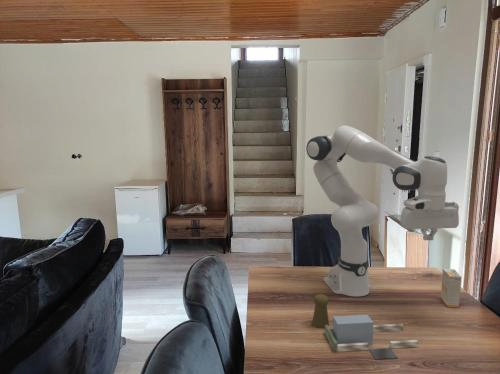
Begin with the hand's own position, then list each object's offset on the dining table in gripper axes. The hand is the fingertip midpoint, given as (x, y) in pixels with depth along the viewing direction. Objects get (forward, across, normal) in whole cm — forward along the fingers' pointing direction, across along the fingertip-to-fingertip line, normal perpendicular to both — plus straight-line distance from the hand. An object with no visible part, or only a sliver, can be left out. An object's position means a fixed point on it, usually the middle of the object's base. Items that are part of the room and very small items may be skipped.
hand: (428, 239), depth 131 cm
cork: (+31, +39, 0) cm, 50 cm away
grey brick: (+31, +31, +12) cm, 45 cm away
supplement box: (+31, -18, -11) cm, 38 cm away
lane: (+31, +25, +12) cm, 41 cm away
